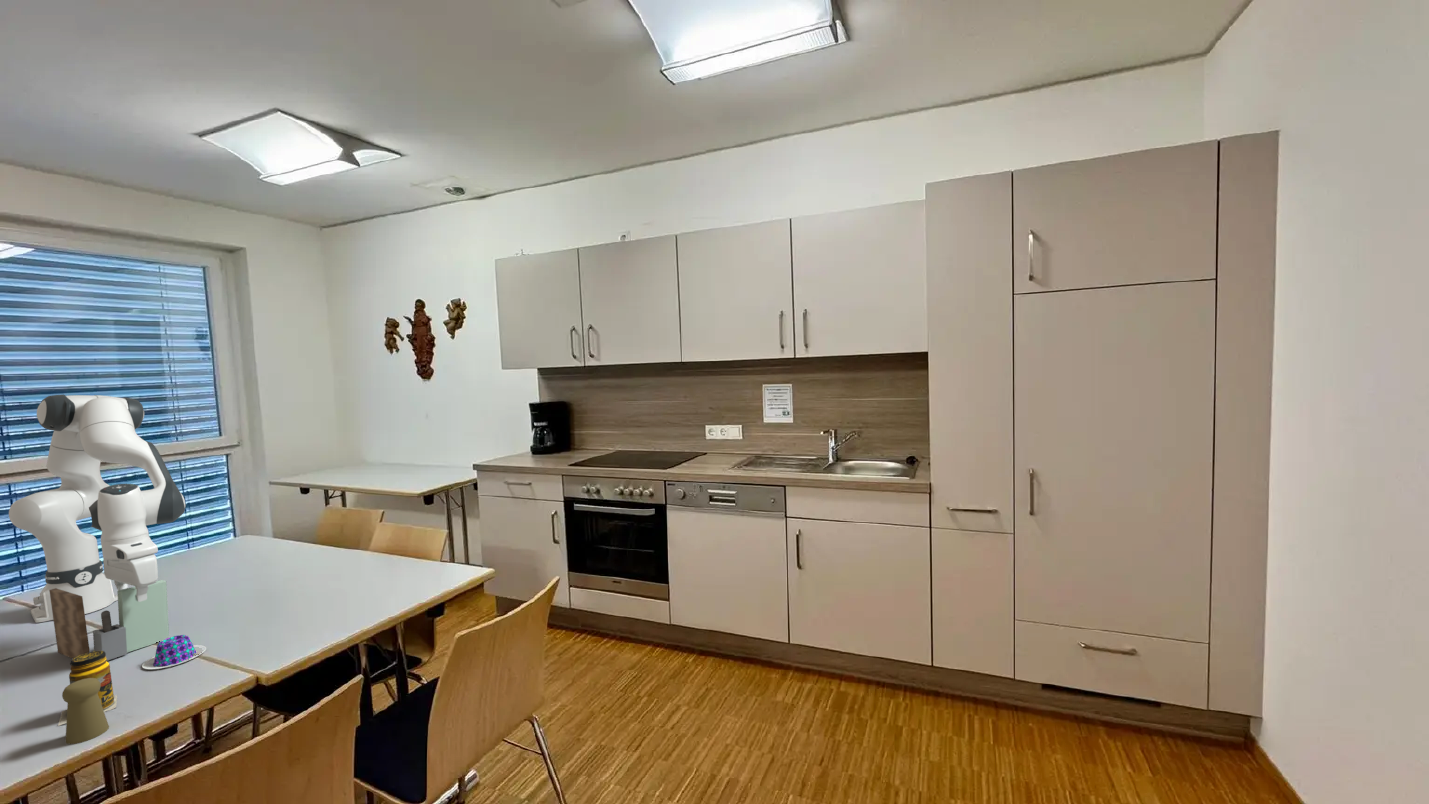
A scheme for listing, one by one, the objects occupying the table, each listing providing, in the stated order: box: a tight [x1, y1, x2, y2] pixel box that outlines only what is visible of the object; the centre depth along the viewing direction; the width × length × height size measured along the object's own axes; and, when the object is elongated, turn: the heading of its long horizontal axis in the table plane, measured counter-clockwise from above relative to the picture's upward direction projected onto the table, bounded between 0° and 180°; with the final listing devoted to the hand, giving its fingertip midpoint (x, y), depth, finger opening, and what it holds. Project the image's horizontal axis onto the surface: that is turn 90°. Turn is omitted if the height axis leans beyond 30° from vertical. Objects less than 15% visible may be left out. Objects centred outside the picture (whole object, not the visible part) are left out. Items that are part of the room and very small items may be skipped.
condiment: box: [57, 650, 118, 727], centre depth 126 cm, size 7×8×12 cm
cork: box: [61, 678, 110, 745], centre depth 117 cm, size 6×6×11 cm
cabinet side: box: [49, 588, 121, 662], centre depth 152 cm, size 20×5×17 cm, turn 64°
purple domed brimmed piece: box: [141, 634, 207, 670], centre depth 148 cm, size 12×12×5 cm
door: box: [92, 579, 170, 662], centre depth 154 cm, size 5×14×16 cm, turn 154°
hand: (133, 598), depth 154 cm, fingers open, 8 cm apart
